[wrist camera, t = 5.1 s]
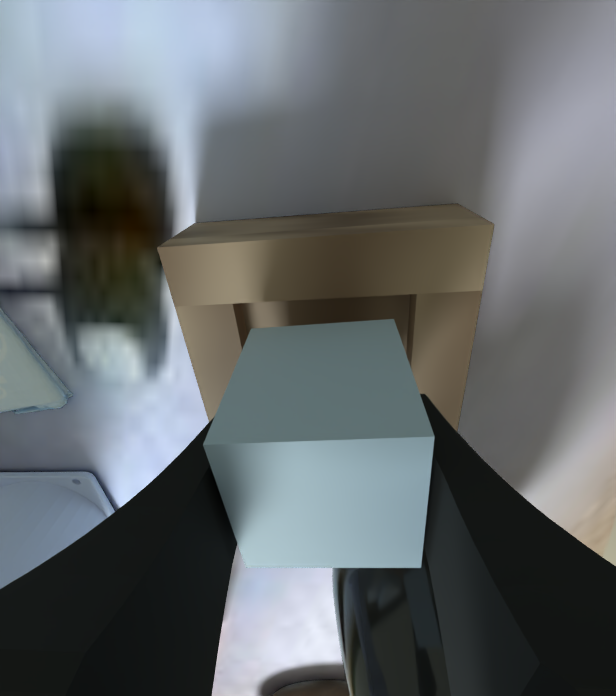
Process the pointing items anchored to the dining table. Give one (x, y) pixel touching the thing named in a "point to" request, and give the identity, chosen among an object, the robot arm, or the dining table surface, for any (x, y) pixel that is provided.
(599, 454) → the dining table surface
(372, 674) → the dark grey egg shape
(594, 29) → the dining table surface
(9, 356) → the paper napkin stack
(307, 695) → the plant saucer
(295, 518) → the blue block
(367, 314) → the square wooden tray
